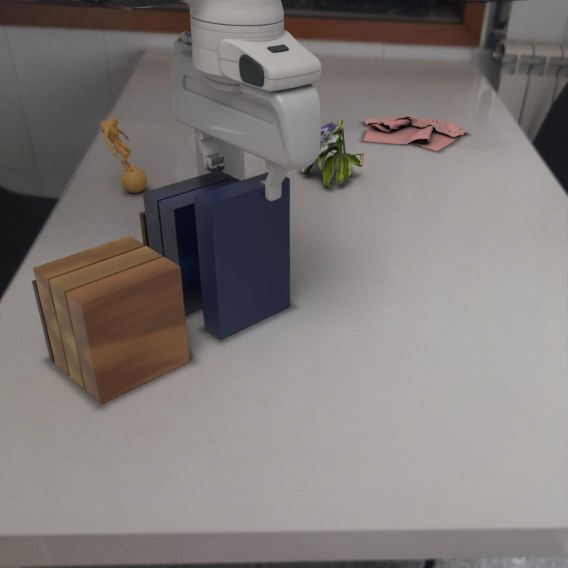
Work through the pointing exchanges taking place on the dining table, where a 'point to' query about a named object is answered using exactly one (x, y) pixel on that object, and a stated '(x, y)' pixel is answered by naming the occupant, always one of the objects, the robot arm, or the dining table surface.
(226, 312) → the navy book
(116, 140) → the figurine
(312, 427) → the dining table surface
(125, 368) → the tan books
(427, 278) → the dining table surface
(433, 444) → the dining table surface
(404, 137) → the cloth
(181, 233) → the navy books
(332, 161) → the passion flower
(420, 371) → the dining table surface
